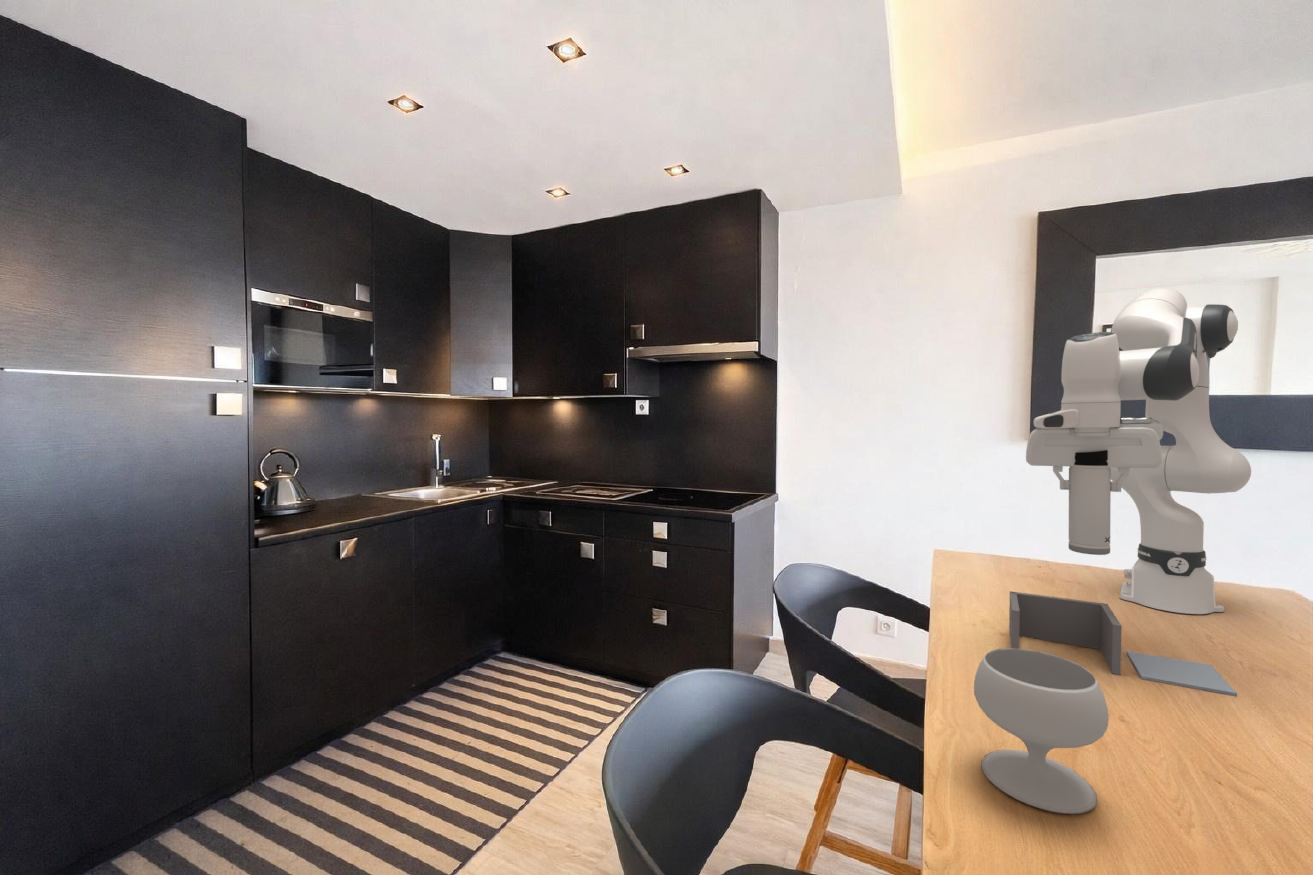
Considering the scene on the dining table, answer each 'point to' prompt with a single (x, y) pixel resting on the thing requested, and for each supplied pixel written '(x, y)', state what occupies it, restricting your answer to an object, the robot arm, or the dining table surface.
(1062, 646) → the dining table surface
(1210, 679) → the mat
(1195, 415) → the robot arm
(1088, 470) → the travel mug
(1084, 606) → the grey u-shaped channel
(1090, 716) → the chalice
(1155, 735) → the dining table surface
